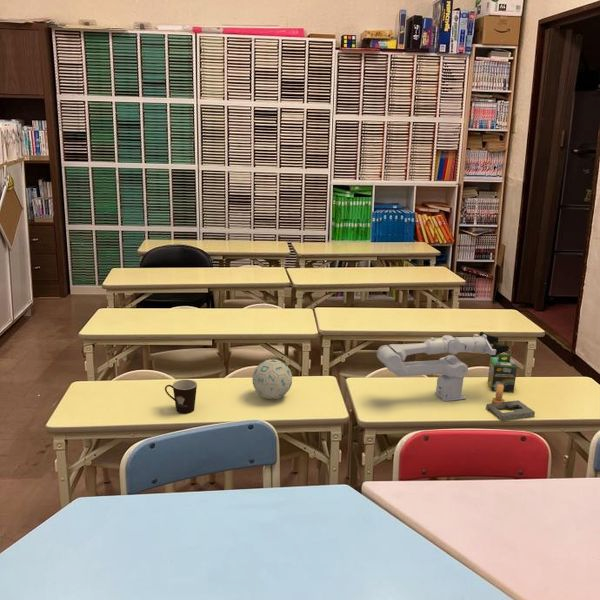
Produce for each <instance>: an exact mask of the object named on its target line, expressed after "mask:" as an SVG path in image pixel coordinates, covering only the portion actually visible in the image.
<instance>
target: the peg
mask: <svg viewBox="0 0 600 600" xmlns="http://www.w3.org/2000/svg"><path fill="white" fill-rule="evenodd" d="M503 387H504V386H503V385H501V384H498V385H497V390H496V391H495V397H493V398H492V400H491V401H492V403H499V402H505V399H503V394H504V392H503Z"/></svg>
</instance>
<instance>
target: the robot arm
mask: <svg viewBox="0 0 600 600" xmlns="http://www.w3.org/2000/svg"><path fill="white" fill-rule="evenodd" d="M499 339H500V338H499V337H497V336H494V335H491V334H490V335H489V334H487V333H484V332H483V331H480V332H479V334H478V333H475V334H473V335H472V336H460V337H459V336H452V335H449V334H445V335H443V336H442V337H440V338H437V337H436V338H434V337H430V339H426V340H425V341H424V342H420V343H418V342H417V343H405V344H404V343H403V344H402V343H400V344H398V343H397V344H396V343H391V344H388V345H387V344H384V345H381V346H379V347H378V349H377V350H376V357H377V359H378V361H380V363H381V364H382V365H383V366H384V367H385V368H386V369H387V370H388V371H389V372H391V373H393V374H394V375H395V376H397V377H413V376H415V377H416V376H430V375H431V376H432V375H439V376H438V377H437V379H436V389H435V391H434V393H435V394H436V396H438V397H439V398H440V399H441V400H442V401H444V402H451V401H457V400H458V401H459V400H466V399H467V397H466V396H465V395H463V385H464V378H465V376H467V374H468V371H469V367H468V365H467V364H466V363H464V362H463V361H461V360H460V359H459V358H457V356H455V355H457V354H458V353H465V352H466V353H477V352H478V353H479V352H480V353H485V354H489V355H490V357H497V356H499V355H500V354H503V353H507V352H509V349H510V346H509V345H507V344H506V345H505V344H500V343H498V342H499ZM491 345H492V346H491ZM421 353H426V354H427V355H429V356H430V355H437V354H445V353H449V355H446V356H444V357H443V356H442V357H440V358H439V359H438V360H437V359H436V360H421V361H420V360H418V361H415V360H414V361H405V360H406V358H407V356H410V355H416V354H417V355H418V354H421Z"/></svg>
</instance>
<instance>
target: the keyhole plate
mask: <svg viewBox="0 0 600 600" xmlns="http://www.w3.org/2000/svg"><path fill="white" fill-rule="evenodd" d="M513 408H518V409H514V410H513V411H507V412H502V411H501V410H503V409H504V410H505V409H513ZM485 410H487V411H492V412H493V413H495V414H496V415H498V416H499V417H498V420H500V421H501V422H505V421H510V420H520V419H521V420H522V419H527V418H534V417H535V414H536V411H535V410H533V409H532V408H530V407H529V406H527V405H526V404H525V403H523V402H521V401H520V400H511V401H509V400H508V401H504V402H499V403H493V402H492V403H486V405H485Z"/></svg>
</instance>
